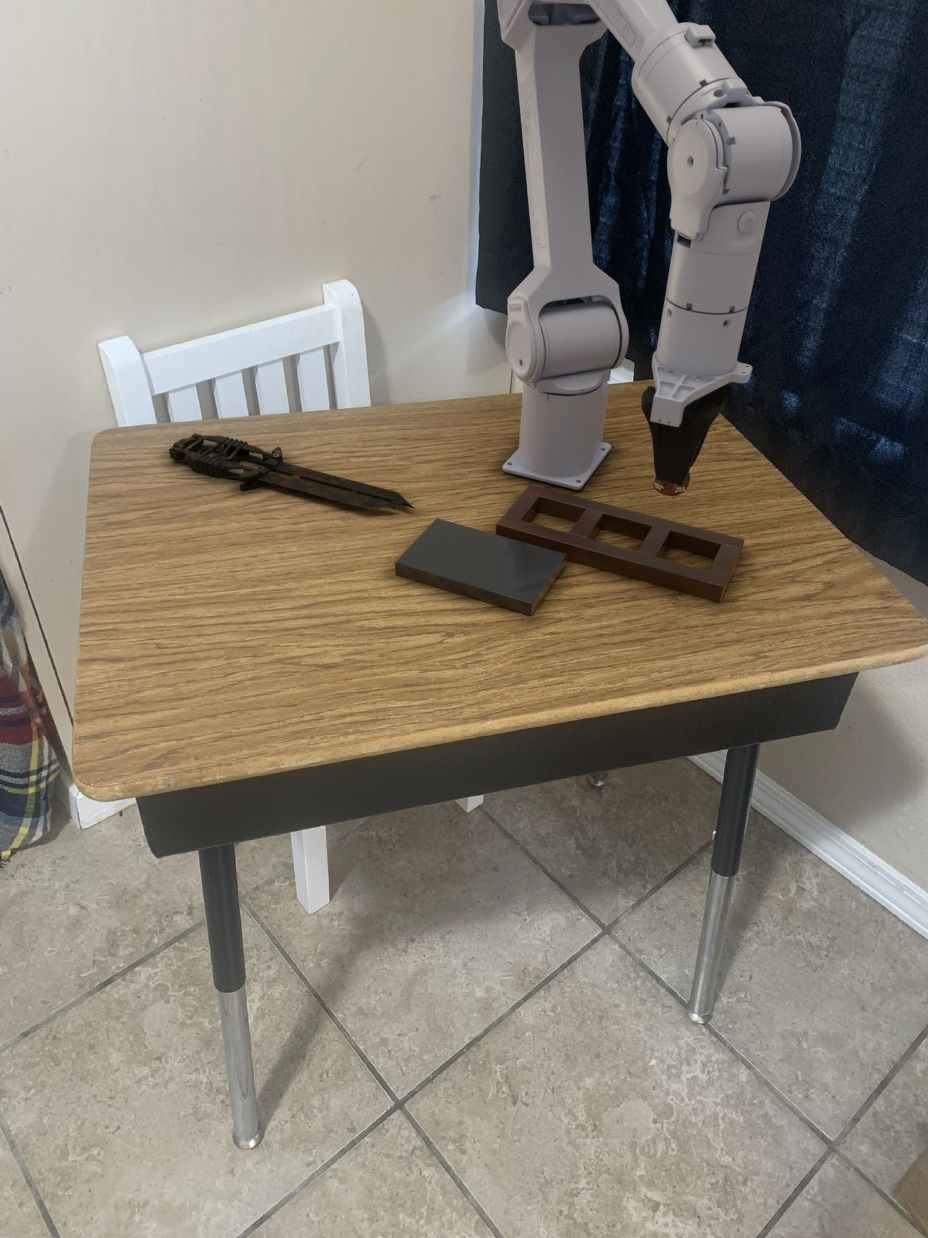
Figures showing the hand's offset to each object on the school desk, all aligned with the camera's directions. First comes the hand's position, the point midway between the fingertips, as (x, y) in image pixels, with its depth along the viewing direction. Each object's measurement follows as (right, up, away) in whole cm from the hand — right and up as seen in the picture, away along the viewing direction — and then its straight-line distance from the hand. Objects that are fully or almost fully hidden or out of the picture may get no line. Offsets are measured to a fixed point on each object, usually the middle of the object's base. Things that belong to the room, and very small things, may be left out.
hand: (674, 471), depth 76 cm
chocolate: (0, -2, +1) cm, 2 cm away
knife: (-32, +1, +15) cm, 36 cm away
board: (-15, -7, +4) cm, 17 cm away
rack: (-3, -5, +8) cm, 10 cm away
